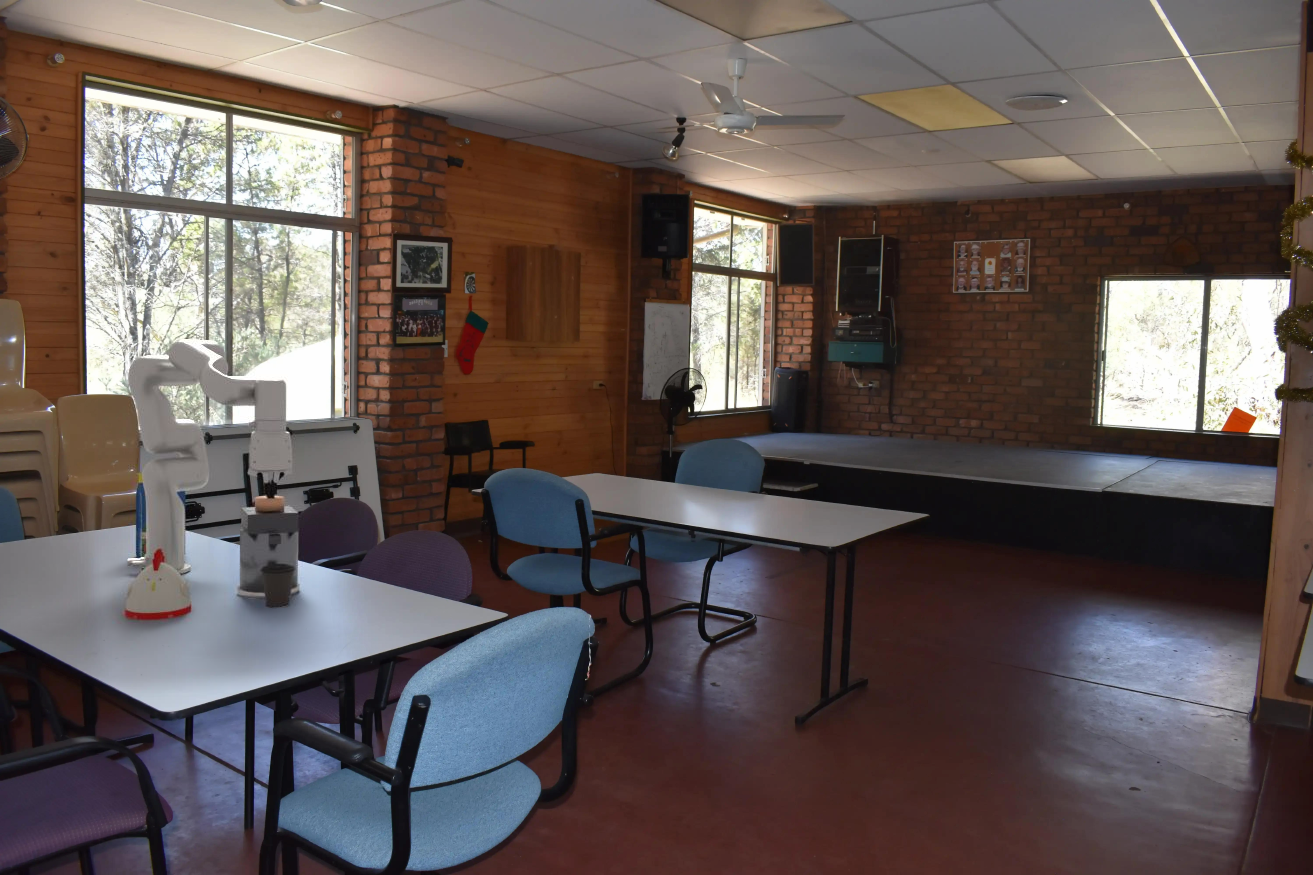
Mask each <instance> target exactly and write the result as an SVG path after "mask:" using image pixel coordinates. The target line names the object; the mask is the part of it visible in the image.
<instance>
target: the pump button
mask: <svg viewBox="0 0 1313 875" xmlns="http://www.w3.org/2000/svg"><path fill="white" fill-rule="evenodd" d="M284 506H285V496H281V495H275V498H267V497H266V495H261V496H255V497H254V507H255V510H257V511H280V510H284Z"/></svg>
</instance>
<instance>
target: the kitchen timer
mask: <svg viewBox="0 0 1313 875" xmlns="http://www.w3.org/2000/svg"><path fill="white" fill-rule="evenodd" d="M164 560H165V556H163V552H162V549H157V550H156V553H154V559H152V561H153V564H151V565H149V566H148V567H146V568H145V569H144V570H143V571H142V572H141V573H140V572H139V574H138V575H137V576H136V577H135V579H134V581H133V582H132V584H129V585H128V587H127V590H126V592H127V593H126V597H125V599H126V601H125V605H124V616H125V617H127V618H128V619H133V620H141V621H154V620H155V621H156V620H165V619H166V620H167V619H172V618H173V619H174V618H177V617H181V616H184V615H188V614H189V613H191V612H192V598H191V590H190V584H189V581H188V580H185V579H184V578H183V576H182V574H180V573H179V572H178V571H177V570H176V569H174V568H173V567H172V566H170V565H168V564H166V563H164Z"/></svg>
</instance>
